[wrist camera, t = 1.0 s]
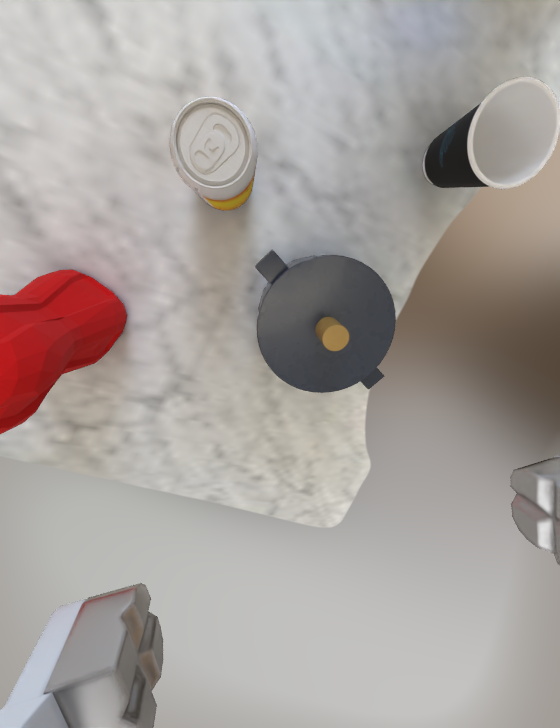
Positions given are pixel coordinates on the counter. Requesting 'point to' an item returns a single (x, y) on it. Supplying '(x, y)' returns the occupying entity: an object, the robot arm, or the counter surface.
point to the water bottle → (52, 337)
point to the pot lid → (326, 323)
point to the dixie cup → (497, 139)
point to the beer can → (215, 151)
